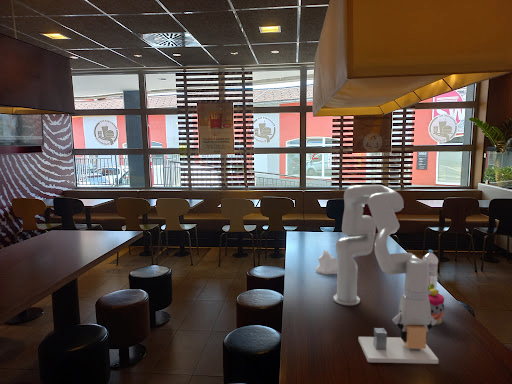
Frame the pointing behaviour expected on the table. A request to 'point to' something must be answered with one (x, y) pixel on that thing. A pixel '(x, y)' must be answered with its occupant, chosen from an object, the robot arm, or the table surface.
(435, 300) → the cake
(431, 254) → the water bottle
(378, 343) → the post
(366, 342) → the board
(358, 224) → the robot arm
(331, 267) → the soft serve ice cream
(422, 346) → the block
